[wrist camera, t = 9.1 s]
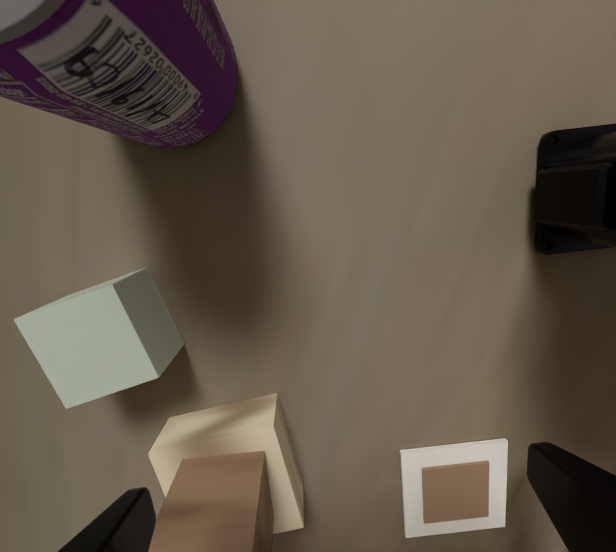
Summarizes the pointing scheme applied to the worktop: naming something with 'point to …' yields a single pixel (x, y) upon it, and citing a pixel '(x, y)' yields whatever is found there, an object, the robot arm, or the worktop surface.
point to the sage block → (103, 338)
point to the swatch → (454, 487)
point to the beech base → (237, 449)
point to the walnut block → (217, 506)
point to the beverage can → (121, 65)
